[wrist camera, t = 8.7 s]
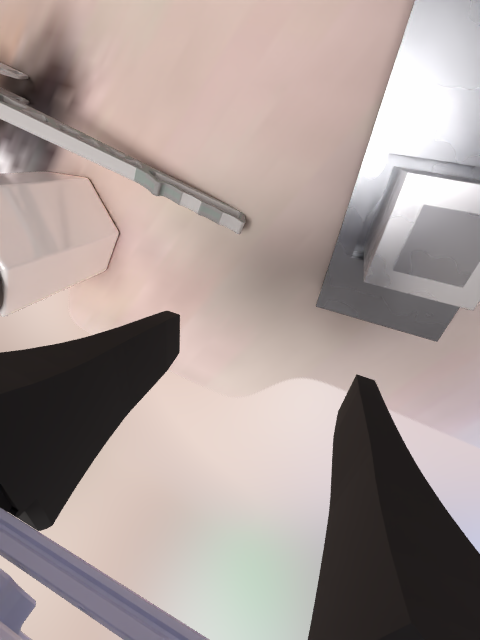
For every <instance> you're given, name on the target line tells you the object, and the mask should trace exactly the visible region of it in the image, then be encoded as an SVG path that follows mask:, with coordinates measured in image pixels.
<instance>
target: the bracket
mask: <svg viewBox="0 0 480 640" xmlns="http://www.w3.org/2000/svg"><path fill="white" fill-rule="evenodd" d="M15 73H16V74H15ZM0 74H2V75H6V76H9V77H13V78H16V79H28V76H27V75H26V74H24V73H22V72H20V71H18V70H16V69H14V68H11V67H9V66H7V65H5V64H3V63H1V62H0ZM16 99H19V100H20V101H18V100H16ZM25 104H29V101H28V100H26V99H25V98H23V97H21V96H18V95H16V94H14V93H11V92H9V91H7V90H5V89H2V88H0V119H2V120H4V121H6V122H9V123H11V124H13V125H15V126H17V127H19V128H21V129H24V130H26V131H28V132H30V133H32V134H34V135H36V136H38V137H41V138H43V139H45V140H47V141H49V142H51V143H53V144H56V145H58V146H60V147H62V148H64V149H66V150H68V151H71V152H73V153H75V154H77V155H79V156H81V157H83V158H86V159H88V160H90V161H92V162H94V163H96V164H98V165H100V166H103V167H105V168H107V169H109V170H111V171H113V172H115V173H118V174H120V175H122V176H124V177H126V178H128V179H130V180H133V181H135V182H137V183H139V184H140V185H142V186H144V187H145V188H146V189H148V190H149V191H150V192H151V193H152V194H153V195H155V196H164V197H167V198H169V199H171V200H172V201H174V202H175V203H177V204H178V205H181V206H184V207H186V208H188V209H190V210H192V211H194V212H195V213H197V214H198V215H201V216H204V217H206V218H208V219H210V220H212V221H214V222H215V223H217V224H219V225H222V226H225V227H227V228H229V229H231V230H232V231H234V232H235V233H236V234H240V233H241V231H242V229H243V226H244V224H245V222H246V221H245V216H244V214H243V213H242V212H240V211H238V210H237V209H235V208H233V207H231V206H229V205H227V204H225V203H223V202H221V201H219V200H217V199H215V198H213V197H211V196H209V195H207V194H205V193H203V192H201V191H199V190H197V189H195V188H193V187H191V186H189V185H187V184H185V183H183V182H181V181H179V180H177V179H175V178H173V177H171V176H169V175H167V174H165V173H163V172H161V171H159V170H157V169H155V168H153V167H151V166H149V165H147V164H144V163H142V162H140V161H138V160H136V159H134V158H132V157H130V156H128V155H126V154H124V153H122V152H120V151H118V150H116V149H114V148H112V147H110V146H108V145H106V144H104V143H102V142H100V141H98V140H96V139H94V138H92V137H90V136H88V135H86V134H84V133H82V132H80V131H78V130H76V129H74V128H72V127H70V126H68V125H66V124H64V123H62V122H60V121H58V120H56V119H54V118H52V117H49V116H47V115H45V114H43V113H41V112H39V111H37V110H35V109H33V108H31V107H29V106H27V105H25Z"/></svg>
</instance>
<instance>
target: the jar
mask: <svg viewBox="0 0 480 640" xmlns="http://www.w3.org/2000/svg"><path fill="white" fill-rule="evenodd" d="M118 235H119V232H118V230H117V228H116V226H115V224H114V223H113V221H112V219H111V217H110V216H109V214H108V212H107V210H106V208H105V207H104V205H103V203H102V201H101V200H100V198H99V196H98V194H97V193H96V191H95V189H94V187H93V185H92V184H91V182H90V180H89V179H88V178H86V177H79V176H73V175H66V174H60V173H53V172H47V171H40V172H23V173H5V174H0V316H8V315H9V314H12V313H14V312H16V311H19V310H21V309H23V308H25V307H27V306H30V305H32V304H34V303H36V302H38V301H41V300H43V299H45V298H47V297H49V296H52V295H53V294H56V293H58V292H60V291H62V290H65V289H67V288H69V287H71V286H74V285H76V284H78V283H80V282H82V281H85V280H87V279H89V278H91V277H93V276H96V275H98V274H100V273H102V272H104V271H106V269H107V266H108V263H109V260H110V258H111V255H112V252H113V249H114V246H115V243H116V241H117V238H118Z"/></svg>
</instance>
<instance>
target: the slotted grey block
mask: <svg viewBox="0 0 480 640" xmlns="http://www.w3.org/2000/svg"><path fill="white" fill-rule="evenodd" d="M364 282H365V283H369V284H373V285H377V286H381V287H385V288H388V289H392V290H396V291H400V292H404V293H408V294H412V295H415V296H419V297H423V298H427V299H431V300H435V301H439V302H442V303H446V304H450V305H454V306H458V307H462V308H466V309H469V310H474V309H475V307H476V306H477V304H478V303H479V301H480V180H477V179H471V178H465V177H458V176H452V175H446V174H440V173H433V172H427V171H421V170H415V169H409V168H402V167H396V166H393V169H392V172H391V174H390V177H389V179H388V182H387V185H386V187H385V190H384V193H383V195H382V198H381V201H380V203H379V206H378V208H377V211H376V214H375V216H374V219H373V222H372V224H371V227H370V229H369V232H368V235H367V237H366V240H365V243H364Z"/></svg>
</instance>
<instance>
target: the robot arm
mask: <svg viewBox="0 0 480 640" xmlns="http://www.w3.org/2000/svg"><path fill="white" fill-rule="evenodd" d="M179 347H180V315H179V314H176V313H173V312H170V311H164V312H161V313H158V314H155V315H152V316H149V317H146V318H143V319H141V320H138V321H135V322H132V323H129V324H126V325H123V326H121V327H118V328H114V329H111V330H108V331H105V332H102V333H98V334H95V335H92V336H88V337H85V338H81V339H77V340H72V341H68V342H64V343H59V344H54V345H48V346H43V347H37V348H32V349H26V350H18V351H11V352H2V353H0V555H1V556H3V557H4V558H6V559H7V560H8V561H10V562H11V563H13V564H14V565H16V566H17V567H19V568H20V569H21V570H23V571H24V572H26V573H27V574H29V575H30V576H32V577H33V578H35V579H36V580H38V581H39V582H41V583H42V584H43V585H45V586H46V587H48V588H49V589H51V590H52V591H54V592H55V593H56V594H58V595H59V596H61V597H62V598H64V599H65V600H67V601H68V602H70V603H71V604H72V605H74V606H75V607H77V608H78V609H80V610H81V611H83V612H84V613H86V614H87V615H89V616H90V617H92V618H93V619H95V620H96V621H97V622H99V623H100V624H102V625H103V626H105V627H106V628H108V629H109V630H110V631H112V632H113V633H115V634H116V635H118V636H119V637H121V638H122V639H124V640H209V639H207V638H206V637H204V636H203V635H201V634H200V633H198V632H196V631H195V630H193V629H192V628H190V627H188V626H186V625H185V624H184V623H182V622H180V621H179V620H177V619H176V618H174V617H173V616H171V615H169V614H168V613H166V612H165V611H163V610H161V609H160V608H158V607H157V606H155V605H154V604H152V603H150V602H149V601H147V600H145V599H144V598H143V597H141V596H139V595H138V594H136V593H135V592H133V591H131V590H130V589H128V588H126V587H125V586H124V585H122V584H120V583H119V582H117V581H116V580H114V579H112V578H111V577H109V576H108V575H106V574H104V573H103V572H101V571H100V570H98V569H97V568H95V567H93V566H92V565H90V564H89V563H87V562H85V561H84V560H82V559H81V558H79V557H77V556H76V555H74V554H73V553H71V552H70V551H68V550H66V549H65V548H63V547H62V546H60V545H59V544H57V543H55V542H54V541H52V540H51V539H49V538H47V537H46V536H44V535H42V534H41V533H40V532H38V531H41V530H44V529H47V528H49V527H50V526H52V525H53V524H54V522H55V520H56V519H57V517H58V515H59V513H60V512H61V510H62V509H63V507H64V505H65V504H66V502H67V501H68V499H69V497H70V496H71V494H72V492H73V491H74V489H75V488H76V486H77V484H78V483H79V482H80V480H81V479H82V477H83V476H84V474H85V472H86V471H87V470H88V468H89V466H90V465H91V463H92V462H93V461H94V459H95V458H96V456H97V455H98V453H99V452H100V451H101V449H102V448H103V446H104V445H105V444H106V442H107V441H108V439H109V438H110V436H111V435H112V434H113V433H114V431H115V430H116V429H117V427H118V426H119V425H120V423H121V422H122V420H123V419H124V418H125V417H126V416H127V414H128V413H129V412H130V411H131V409H133V408H134V406H135V405H136V404H137V403H138V402H139V401H140V400H141V399H142V398H143V397H144V395H145V394H146V393H147V392H148V391H149V390H150V389H151V388H152V387H153V386H154V385H155V384H156V382H157V381H158V380H159V379H160V378H161V377H162V376H163V375H164V374H165V372H166V371H167V370H168V369H169V367H170V366H171V364H172V363H173V361H174V360H175V358H176V357H177V355H178V354H179ZM8 512H9V513H11V514H12V515H11V514H9V513H8ZM13 515H14V516H15V517H14V516H13ZM16 517H17V518H19V519H20V520H19V519H17V518H16ZM21 520H22V521H23V522H22V521H21ZM24 522H25V523H27V524H28V525H30V526H31V527H30V526H28V525H27V524H25V523H24ZM32 527H33V528H34V529H33V528H32ZM35 529H36V530H38V531H36V530H35ZM35 605H36V601H35V600H34V599H33V598H32V597H30V596H29V595H28V594H27V593H26V592H25V591H24V590H23V589H22V588H20V587H19V586H18V585H17V584H16V583H15V582H14V580H13V579H12V578H11V577H10V576H9V575H8V574H7V573H5V572H4V571H3V570H2V569H0V640H32V639H31V638H29V637H28V636H26V635H25V634H24V633H22V632H21V631H20V629H21V626H22V624H23V623H24V621H25V620H26V618H27V617H28V616H29V614H30V613H31V612H32V610H33V609H34V607H35ZM308 640H480V554H479V553H478V551H477V550H476V549H475V547H474V546H473V545H472V544H471V542H470V541H469V540H468V538H467V537H466V536H465V534H464V533H463V532H462V530H461V529H460V528H459V526H458V525H457V524H456V522H455V521H454V520H453V519H452V517H451V516H450V514H449V513H448V511H447V510H446V509H445V507H444V506H443V504H442V503H441V501H440V500H439V498H438V497H437V496H436V494H435V492H434V491H433V489H432V488H431V486H430V485H429V484H428V482H427V480H426V479H425V477H424V476H423V474H422V473H421V471H420V469H419V468H418V466H417V464H416V463H415V461H414V459H413V458H412V456H411V454H410V452H409V450H408V449H407V447H406V445H405V443H404V441H403V440H402V437H401V436H400V434H399V432H398V430H397V428H396V426H395V424H394V422H393V420H392V418H391V415H390V413H389V411H388V409H387V407H386V405H385V402H384V400H383V398H382V396H381V393H380V391H379V389H378V387H377V384H376V382H375V381H374V380H372V379H369V378H366V377H363V376H360V375H356V377H355V379H354V381H353V383H352V385H351V387H350V389H349V391H348V393H347V395H346V397H345V399H344V401H343V403H342V405H341V407H340V409H339V411H338V415H337V421H336V426H335V432H334V439H333V456H332V477H331V498H330V509H329V517H328V525H327V531H326V538H325V544H324V551H323V557H322V563H321V569H320V576H319V581H318V587H317V592H316V598H315V604H314V609H313V615H312V621H311V626H310V631H309V636H308Z"/></svg>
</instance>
